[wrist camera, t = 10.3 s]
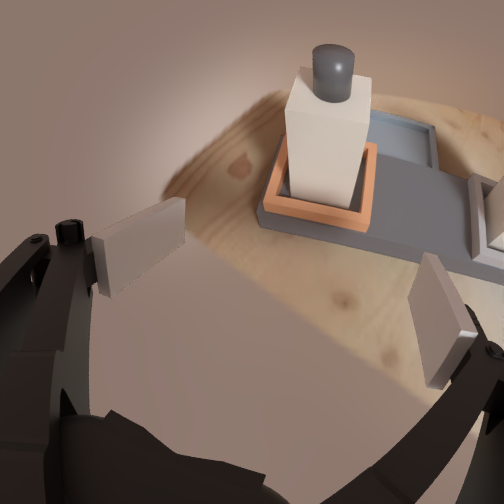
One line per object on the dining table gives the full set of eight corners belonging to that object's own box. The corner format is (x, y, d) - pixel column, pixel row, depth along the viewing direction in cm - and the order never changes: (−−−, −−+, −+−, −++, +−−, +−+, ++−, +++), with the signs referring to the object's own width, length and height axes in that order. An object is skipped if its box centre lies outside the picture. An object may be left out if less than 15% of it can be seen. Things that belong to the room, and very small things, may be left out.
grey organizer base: (516, 216, 24) (535, 197, 20) (520, 290, 21) (545, 277, 17) (283, 154, 31) (280, 124, 27) (260, 227, 28) (253, 202, 24)
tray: (431, 133, 30) (434, 126, 28) (435, 184, 27) (439, 177, 26) (338, 111, 32) (339, 102, 31) (330, 158, 30) (331, 150, 29)
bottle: (354, 164, 26) (376, 43, 14) (348, 209, 24) (377, 84, 12) (302, 154, 27) (298, 31, 15) (290, 197, 25) (280, 69, 13)
